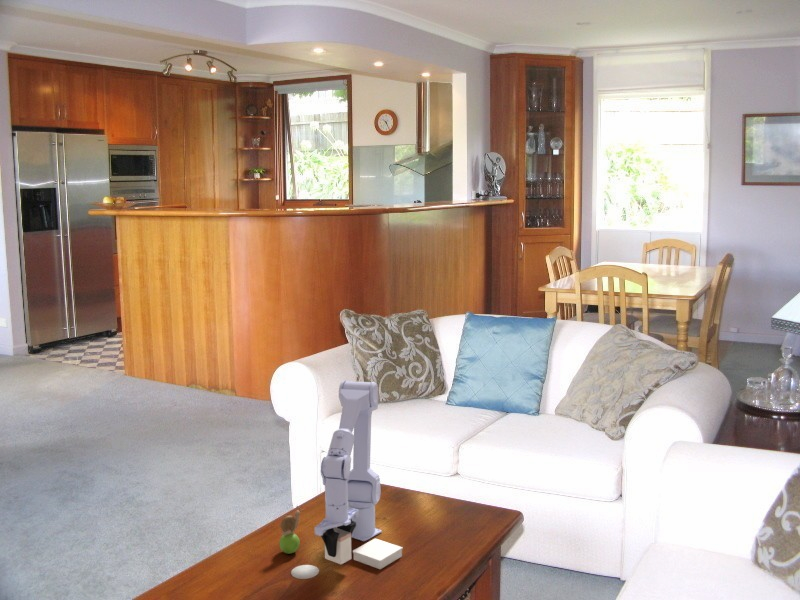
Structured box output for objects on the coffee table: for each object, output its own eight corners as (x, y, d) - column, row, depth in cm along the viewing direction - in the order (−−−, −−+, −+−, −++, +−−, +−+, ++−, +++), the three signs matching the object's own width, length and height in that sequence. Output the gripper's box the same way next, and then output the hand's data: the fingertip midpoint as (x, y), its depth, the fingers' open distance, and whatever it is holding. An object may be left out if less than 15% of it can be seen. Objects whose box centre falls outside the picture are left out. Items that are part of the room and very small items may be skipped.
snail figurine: (307, 550, 224) (305, 508, 222) (288, 559, 219) (286, 515, 217) (294, 545, 228) (292, 503, 226) (275, 552, 223) (273, 510, 221)
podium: (352, 559, 218) (352, 550, 218) (375, 546, 226) (375, 538, 225) (380, 569, 213) (380, 560, 212) (402, 556, 220) (402, 547, 220)
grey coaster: (285, 574, 212) (285, 572, 211) (304, 564, 217) (304, 562, 217) (305, 582, 207) (305, 580, 207) (324, 572, 213) (324, 570, 213)
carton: (324, 558, 213) (324, 532, 212) (335, 552, 216) (334, 527, 215) (341, 564, 209) (340, 538, 208) (351, 558, 213) (350, 532, 211)
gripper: (328, 515, 202) (330, 567, 204) (367, 496, 213) (368, 546, 216) (307, 508, 207) (309, 559, 209) (346, 490, 218) (347, 539, 220)
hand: (338, 552), depth 212 cm, fingers closed on carton, 4 cm apart
